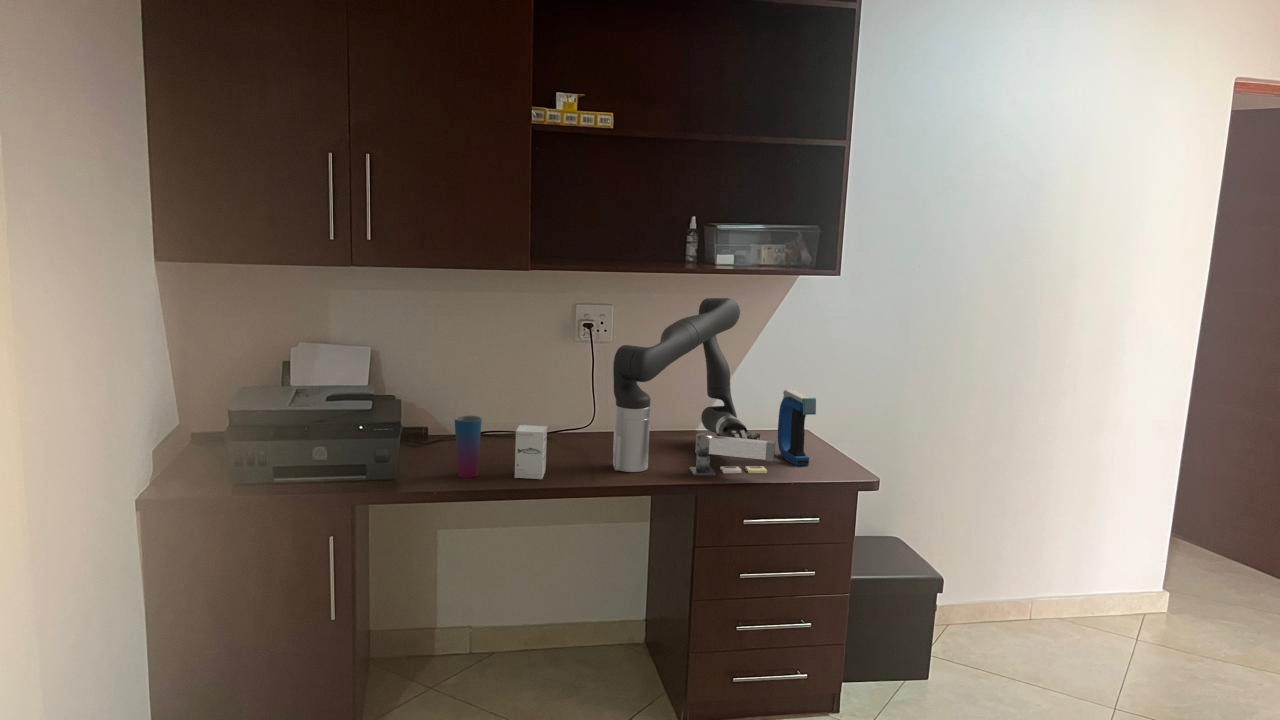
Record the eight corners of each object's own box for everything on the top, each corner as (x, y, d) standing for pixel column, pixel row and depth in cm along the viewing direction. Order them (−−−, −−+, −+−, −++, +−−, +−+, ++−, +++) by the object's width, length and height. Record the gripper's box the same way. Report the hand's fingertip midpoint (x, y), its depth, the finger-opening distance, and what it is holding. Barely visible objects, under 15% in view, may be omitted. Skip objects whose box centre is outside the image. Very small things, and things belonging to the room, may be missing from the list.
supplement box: (513, 478, 239) (514, 430, 237) (518, 470, 246) (519, 424, 244) (542, 480, 238) (543, 431, 236) (546, 472, 246) (547, 425, 244)
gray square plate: (693, 475, 248) (694, 457, 247) (689, 469, 254) (690, 451, 253) (715, 475, 248) (716, 457, 248) (711, 469, 254) (712, 451, 254)
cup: (455, 471, 243) (456, 415, 241) (482, 471, 244) (482, 415, 241) (452, 478, 237) (453, 421, 234) (479, 479, 237) (480, 421, 235)
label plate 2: (748, 473, 252) (749, 470, 252) (745, 469, 256) (745, 465, 255) (766, 473, 252) (767, 470, 252) (763, 469, 256) (763, 466, 256)
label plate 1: (723, 473, 251) (723, 469, 251) (720, 469, 255) (720, 465, 255) (741, 473, 251) (741, 470, 251) (738, 469, 255) (738, 465, 255)
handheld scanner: (798, 468, 258) (804, 398, 255) (774, 453, 273) (780, 387, 270) (813, 468, 259) (819, 398, 256) (789, 453, 275) (794, 387, 272)
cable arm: (693, 453, 249) (694, 436, 248) (697, 449, 253) (697, 432, 252) (772, 462, 243) (773, 444, 243) (774, 457, 248) (775, 440, 247)
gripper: (708, 417, 264) (721, 432, 247) (754, 418, 266) (770, 432, 249) (707, 443, 265) (720, 460, 248) (753, 443, 267) (769, 460, 250)
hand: (745, 446), depth 249 cm, fingers closed
